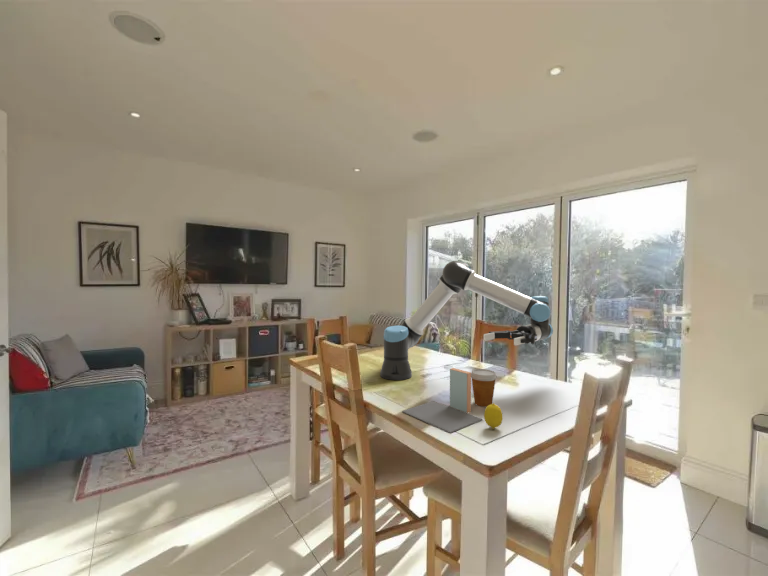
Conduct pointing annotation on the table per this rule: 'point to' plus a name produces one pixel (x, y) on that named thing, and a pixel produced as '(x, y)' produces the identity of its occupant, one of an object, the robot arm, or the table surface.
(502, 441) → the table surface
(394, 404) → the table surface
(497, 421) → the lemon
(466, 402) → the tile
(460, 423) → the mat
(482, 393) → the disposable coffee cup
